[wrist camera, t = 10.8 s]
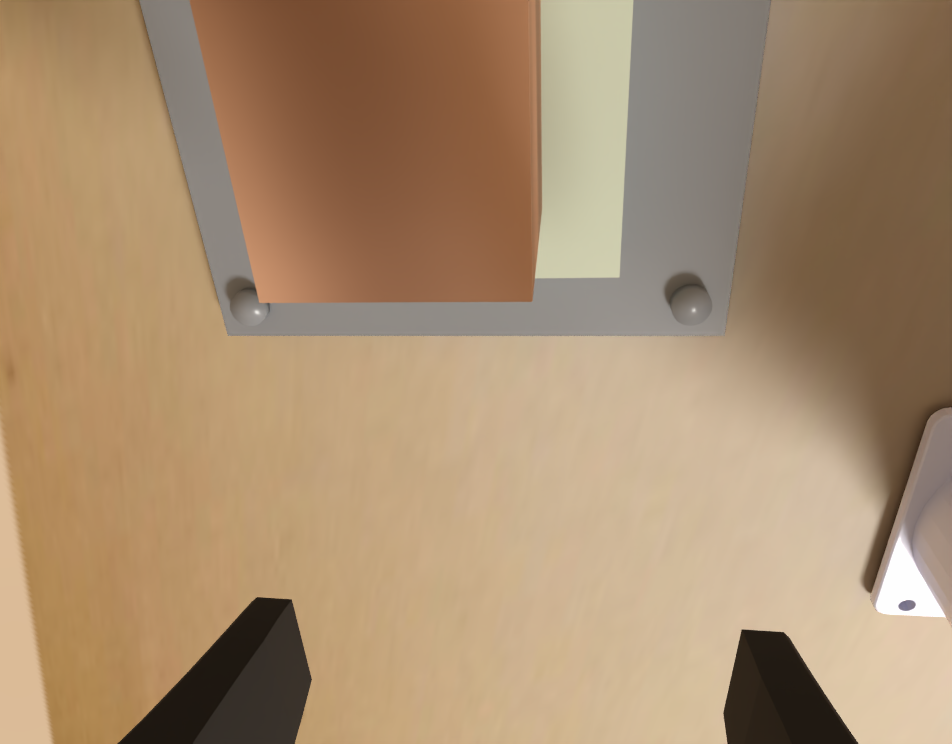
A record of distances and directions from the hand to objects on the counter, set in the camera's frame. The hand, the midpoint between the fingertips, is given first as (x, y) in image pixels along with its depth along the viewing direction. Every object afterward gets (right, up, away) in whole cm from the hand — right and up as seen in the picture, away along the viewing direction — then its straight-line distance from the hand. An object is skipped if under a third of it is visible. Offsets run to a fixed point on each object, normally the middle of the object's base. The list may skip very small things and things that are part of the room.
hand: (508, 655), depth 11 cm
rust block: (-1, +10, +3) cm, 11 cm away
